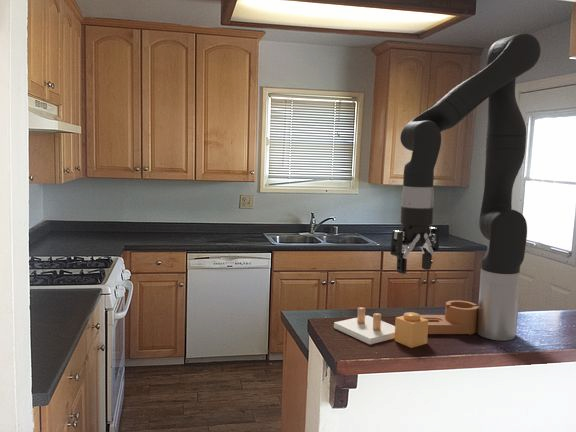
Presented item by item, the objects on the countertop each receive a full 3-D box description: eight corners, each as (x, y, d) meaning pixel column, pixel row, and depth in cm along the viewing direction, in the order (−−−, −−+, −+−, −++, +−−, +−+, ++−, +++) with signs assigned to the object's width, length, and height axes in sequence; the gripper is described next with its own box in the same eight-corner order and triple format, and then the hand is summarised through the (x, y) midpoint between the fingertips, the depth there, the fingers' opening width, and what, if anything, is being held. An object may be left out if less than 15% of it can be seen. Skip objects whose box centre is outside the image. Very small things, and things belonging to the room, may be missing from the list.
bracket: (469, 324, 143) (471, 300, 142) (481, 335, 135) (483, 309, 134) (405, 324, 142) (406, 300, 141) (413, 335, 134) (415, 309, 133)
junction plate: (367, 320, 144) (368, 301, 144) (404, 335, 133) (405, 314, 132) (333, 327, 138) (334, 307, 137) (369, 344, 126) (370, 322, 125)
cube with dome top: (410, 336, 132) (411, 310, 131) (427, 343, 128) (428, 316, 127) (394, 340, 129) (395, 313, 128) (411, 347, 124) (412, 319, 124)
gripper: (408, 208, 117) (405, 278, 119) (449, 205, 125) (445, 270, 127) (384, 205, 123) (382, 271, 125) (425, 202, 131) (422, 265, 133)
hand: (414, 271), depth 126 cm, fingers open, 8 cm apart
